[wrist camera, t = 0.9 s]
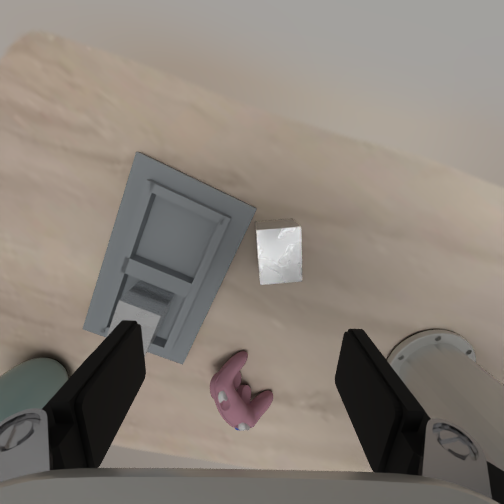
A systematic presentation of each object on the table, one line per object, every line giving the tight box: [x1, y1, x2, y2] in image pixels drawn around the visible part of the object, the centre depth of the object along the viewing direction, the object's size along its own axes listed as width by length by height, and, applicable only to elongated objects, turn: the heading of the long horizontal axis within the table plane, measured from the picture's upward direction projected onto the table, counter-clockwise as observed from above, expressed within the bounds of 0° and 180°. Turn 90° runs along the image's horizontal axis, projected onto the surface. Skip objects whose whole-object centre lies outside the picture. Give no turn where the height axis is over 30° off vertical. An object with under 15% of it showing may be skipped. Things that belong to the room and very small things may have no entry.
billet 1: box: [107, 280, 175, 357], centre depth 27 cm, size 4×6×5 cm
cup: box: [0, 358, 68, 422], centre depth 29 cm, size 8×8×10 cm
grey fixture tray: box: [83, 152, 256, 364], centre depth 28 cm, size 14×24×2 cm, turn 155°
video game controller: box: [210, 351, 273, 430], centre depth 33 cm, size 10×5×7 cm, turn 27°
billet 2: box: [255, 219, 302, 285], centre depth 26 cm, size 4×6×5 cm
